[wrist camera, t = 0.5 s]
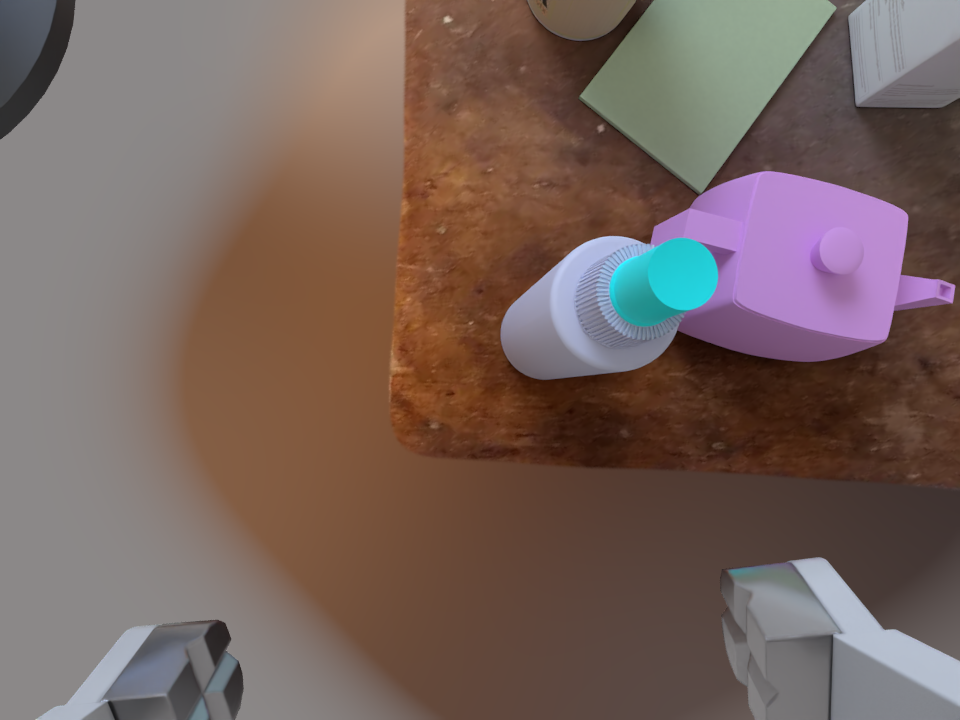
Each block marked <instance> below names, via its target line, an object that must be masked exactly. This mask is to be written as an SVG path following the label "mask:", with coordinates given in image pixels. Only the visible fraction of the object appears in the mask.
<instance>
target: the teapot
mask: <svg viewBox="0 0 960 720" xmlns="http://www.w3.org/2000/svg"><path fill="white" fill-rule="evenodd" d="M907 226H908V215H907V214H906V212H904V211H903V210H902V209H900V208H898V207H896V206H894V205H892V204H890V203H887V202H885V201H882V200H879V199H877V198H874V197H871V196H868V195H865V194H862V193H860V192H856V191H853V190H850V189H847V188H844V187H841V186H838V185H834V184H830V183H826V182H822V181H818V180H814V179H809V178H805V177H800V176H796V175H791V174H785V173H779V172H770V171H764V172H759V173H755V174H751V175H747V176H744V177H741V178H737V179H734V180H731V181H728V182H725V183H723V184H721V185H718V186H716V187H714V188H712V189H710V190H708V191H706V192H705V193H703V194H701V195H700V196H699V197H697V198H696V199H695V200H694V202H693V203H692V205H691V207H690V208H689V209H687V210H685V211H683V212H682V213H680V214H678V215H676V216H674V217H672V218H670V219H668V220H666V221H664V222H662V223H660V224H659V225H657V226H655V227H654V230H653V235H652V239H651V244H650V245H654V247H656V246H659V245H660V244H662V243H664V242H666V241H668V240H671V239H674V238H689V239H693V240H695V241H697V242H699V243H701V244H702V245H704V246H705V247H706V248H707V249H708V250H709V251H710V253H711V254H712V256H713V257H714V259H715V262H716V265H717V269H718V282H717V286H716V289H715V291H714V293H713V295H712V296H711V298H710V299H709V300H708V301H707V302H706V303H705V304H703V305H702V306H700V307H698V308H695V309H692V310H689V311H687V312H686V314H684V318H682V319H681V320H682V321H681V322H680V323H679V326H678V329H677V330H678V331H680V332H682V333H684V334H687V335H689V336H692V337H695V338H697V339H700V340H703V341H706V342H709V343H712V344H715V345H717V346H721V347H724V348H727V349H730V350H734V351H737V352H741V353H745V354H750V355H754V356H760V357H765V358H772V359H779V360H787V361H799V362H815V361H824V360H830V359H835V358H839V357H843V356H847V355H850V354H853V353H856V352H859V351H862V350H865V349H867V348H870V347H873V346H875V345H878V344H880V343H882V342H884V341H886V339H887V337H888V334H889V330H890V326H891V321H892V316H893V312H894V311H897V310H904V309H912V308H919V307H927V306H934V305H942V304H950V303H953V297H954V291H955V285H953V284H950V283H948V282H945V281H942V280H939V279H936V280H932V279H925V278H918V277H911V276H904V275H900V274H901V267H902V261H903V255H904V249H905V242H906V235H907Z"/></svg>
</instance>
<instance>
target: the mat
mask: <svg viewBox="0 0 960 720" xmlns="http://www.w3.org/2000/svg"><path fill="white" fill-rule="evenodd" d="M835 10H836V7H835V6H834V5H832V4H831V3H830V2H829V1H828V0H654V1H653V2H652V3H651V5H650V6H649V7H648V9H647V10H646V11H645V12H644V14H643V15H642V16H641V18H640V19H639V20H638V21H637V23H636V24H635V25H634V27H633V28H632V29H631V30H630V32H629V33H628V34H627V36H626V37H625V38H624V40H623V41H622V42H621V43H620V45H619V46H618V47H617V49H616V50H615V51H614V52H613V54H612V55H611V56H610V58H609V59H608V60H607V61H606V63H605V64H604V65H603V67H602V68H601V69H600V70H599V72H598V73H597V74H596V76H595V77H594V78H593V80H592V81H591V82H590V83H589V85H588V86H587V87H586V89H585V90H584V91H583V92H582V94H581V95H580V96H579V99H580V100H581V101H582V102H583V103H585V104H586V105H587V106H588V107H590V108H591V109H592V110H593V111H595V112H596V113H597V114H598V115H600V116H601V117H602V118H603V119H605V120H606V121H607V122H608V123H610V124H611V125H612V126H613V127H615V128H616V129H617V130H618V131H620V132H621V133H622V134H623V135H625V136H626V137H627V138H628V139H630V140H631V141H632V142H633V143H635V144H636V145H637V146H638V147H640V148H641V149H642V150H643V151H645V152H646V153H647V154H648V155H650V156H651V157H652V158H653V159H655V160H656V161H657V162H658V163H660V164H661V165H662V166H663V167H665V168H666V169H667V170H668V171H670V172H671V173H672V174H673V175H675V176H676V177H677V178H678V179H680V180H681V181H682V182H683V183H685V184H686V185H687V186H689V187H690V188H691V189H692V190H694V191H695V192H696V193H697V194H699V195H700V194H702V192H703V191H704V190H705V188H706V187H707V186H708V184H709V183H710V181H711V180H712V179H713V177H714V176H715V175H716V173H717V172H718V170H719V169H720V168H721V166H722V165H723V164H724V162H725V161H726V159H727V158H728V157H729V155H730V154H731V153H732V151H733V150H734V148H735V147H736V146H737V144H738V143H739V142H740V140H741V139H742V137H743V136H744V135H745V133H746V132H747V131H748V129H749V128H750V126H751V125H752V124H753V122H754V121H755V120H756V118H757V117H758V115H759V114H760V113H761V111H762V110H763V109H764V107H765V106H766V105H767V103H768V102H769V100H770V99H771V98H772V96H773V95H774V94H775V92H776V91H777V89H778V88H779V87H780V85H781V84H782V83H783V81H784V80H785V78H786V77H787V76H788V74H789V73H790V72H791V70H792V69H793V67H794V66H795V65H796V63H797V62H798V61H799V59H800V58H801V56H802V55H803V54H804V52H805V51H806V50H807V48H808V47H809V45H810V44H811V43H812V41H813V40H814V39H815V37H816V36H817V34H818V33H819V32H820V30H821V29H822V28H823V26H824V25H825V23H826V22H827V21H828V19H829V18H830V17H831V15H832V14H833V13H834V11H835Z"/></svg>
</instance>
